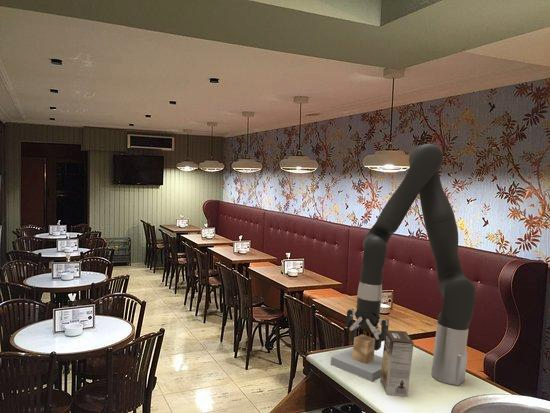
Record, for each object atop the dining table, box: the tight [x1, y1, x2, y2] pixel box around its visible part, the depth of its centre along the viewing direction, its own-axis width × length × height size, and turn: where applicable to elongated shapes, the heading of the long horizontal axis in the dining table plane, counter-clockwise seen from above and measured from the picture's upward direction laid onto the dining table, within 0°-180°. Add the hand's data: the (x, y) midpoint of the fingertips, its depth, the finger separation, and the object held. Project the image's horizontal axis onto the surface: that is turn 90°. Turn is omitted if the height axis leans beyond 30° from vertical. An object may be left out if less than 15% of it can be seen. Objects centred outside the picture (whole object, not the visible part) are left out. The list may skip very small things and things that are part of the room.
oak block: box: [352, 334, 376, 364], centre depth 144 cm, size 5×5×7 cm
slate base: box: [330, 347, 383, 382], centre depth 145 cm, size 15×14×2 cm
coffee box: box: [379, 329, 415, 397], centre depth 130 cm, size 9×6×16 cm
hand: (364, 345), depth 144 cm, fingers open, 8 cm apart
